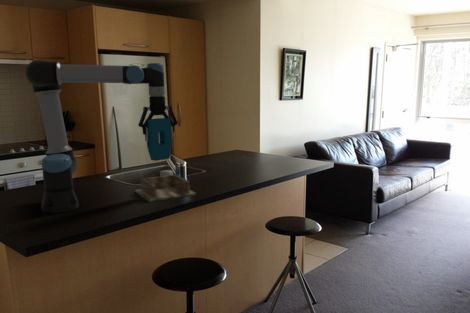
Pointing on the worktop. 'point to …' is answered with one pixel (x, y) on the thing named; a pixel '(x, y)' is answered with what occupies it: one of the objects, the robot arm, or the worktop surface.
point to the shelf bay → (164, 188)
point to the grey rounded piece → (166, 172)
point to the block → (156, 131)
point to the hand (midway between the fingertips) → (159, 140)
